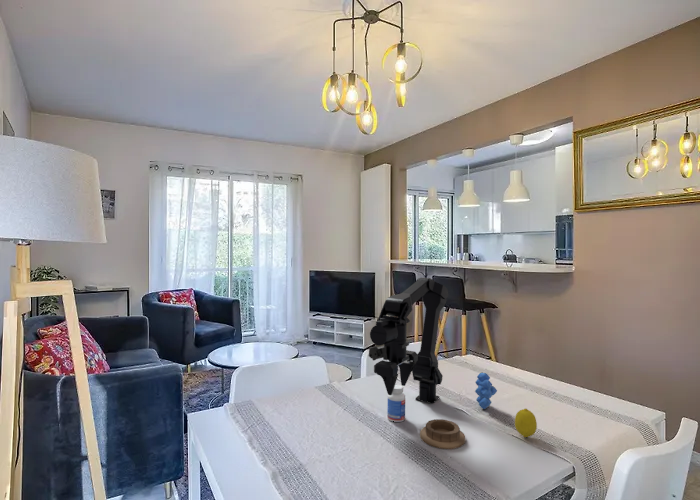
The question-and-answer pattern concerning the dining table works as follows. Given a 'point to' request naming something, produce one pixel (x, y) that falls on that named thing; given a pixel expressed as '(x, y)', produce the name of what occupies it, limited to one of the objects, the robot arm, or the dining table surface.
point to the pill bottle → (396, 405)
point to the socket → (442, 434)
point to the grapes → (484, 390)
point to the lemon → (525, 423)
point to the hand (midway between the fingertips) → (396, 390)
